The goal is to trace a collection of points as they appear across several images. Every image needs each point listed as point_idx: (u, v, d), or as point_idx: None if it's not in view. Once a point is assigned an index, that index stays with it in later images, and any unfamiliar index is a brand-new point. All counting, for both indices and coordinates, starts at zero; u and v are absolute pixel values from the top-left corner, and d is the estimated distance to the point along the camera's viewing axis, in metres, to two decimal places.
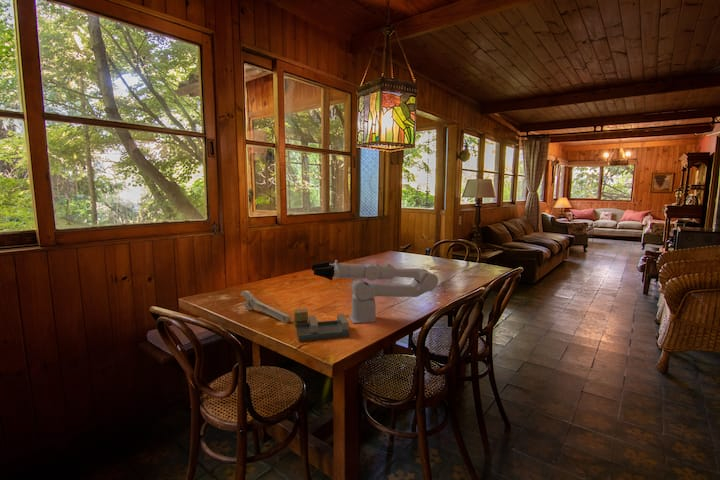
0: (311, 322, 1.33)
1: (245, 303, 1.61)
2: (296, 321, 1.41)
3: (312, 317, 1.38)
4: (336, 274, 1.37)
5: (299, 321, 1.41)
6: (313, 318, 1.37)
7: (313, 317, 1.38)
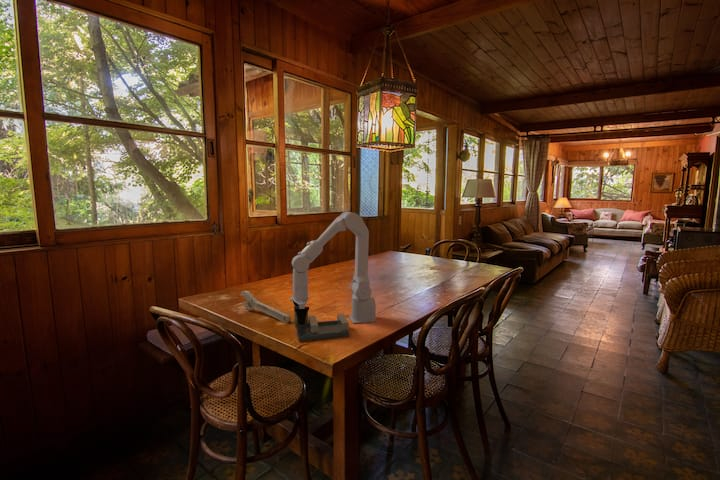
0: (311, 322, 1.33)
1: (245, 303, 1.61)
2: (296, 321, 1.41)
3: (312, 317, 1.38)
4: (301, 307, 1.35)
5: None
6: (313, 318, 1.37)
7: (313, 317, 1.38)
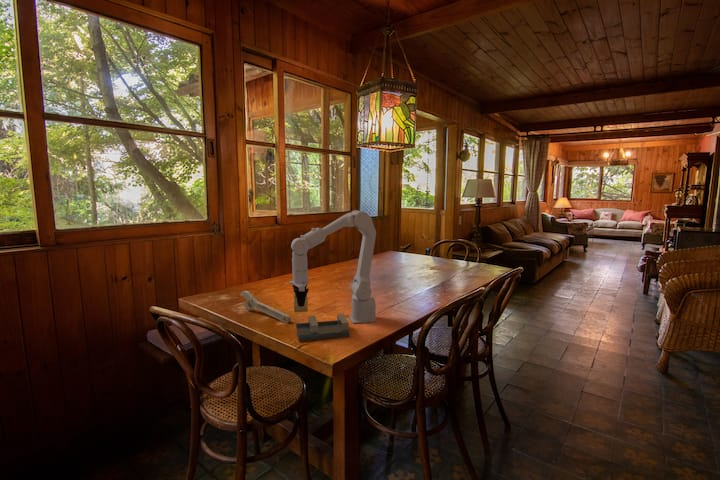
0: (311, 322, 1.33)
1: (245, 303, 1.60)
2: (296, 306, 1.40)
3: (312, 317, 1.38)
4: (301, 289, 1.34)
5: None
6: (313, 318, 1.37)
7: (313, 317, 1.38)
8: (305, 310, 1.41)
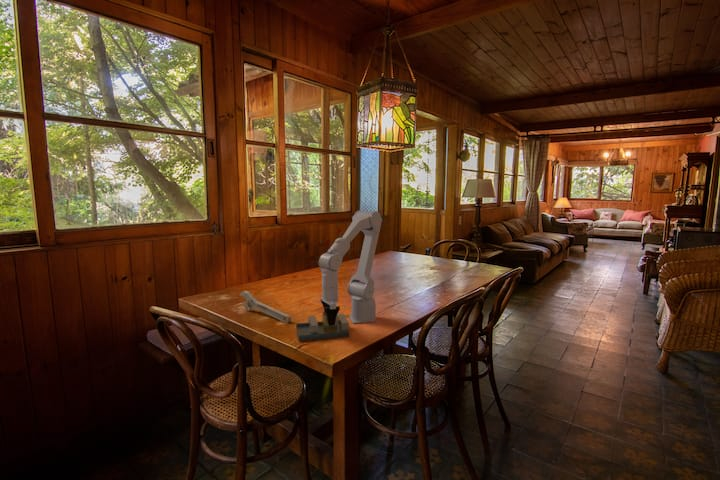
0: (311, 322, 1.33)
1: (244, 303, 1.60)
2: (325, 324, 1.34)
3: (312, 317, 1.38)
4: (332, 307, 1.28)
5: (328, 324, 1.35)
6: (313, 318, 1.37)
7: (313, 317, 1.38)
8: (335, 329, 1.35)
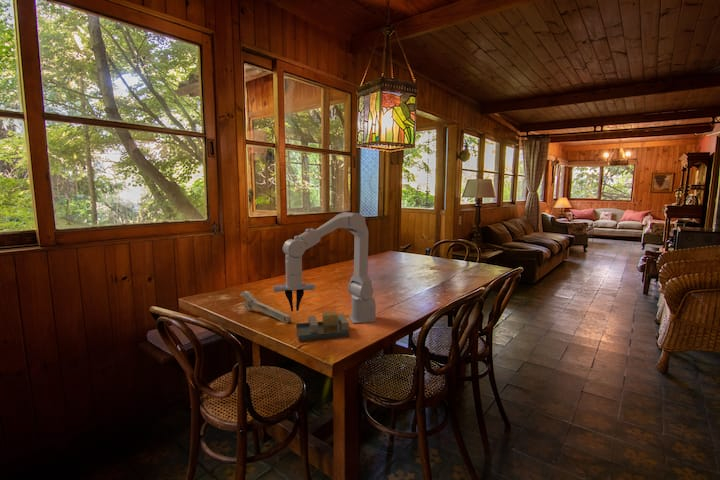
0: (311, 322, 1.33)
1: (245, 304, 1.60)
2: (325, 324, 1.34)
3: (312, 317, 1.38)
4: (273, 289, 1.30)
5: (328, 324, 1.35)
6: (313, 318, 1.37)
7: (313, 317, 1.38)
8: (335, 329, 1.35)
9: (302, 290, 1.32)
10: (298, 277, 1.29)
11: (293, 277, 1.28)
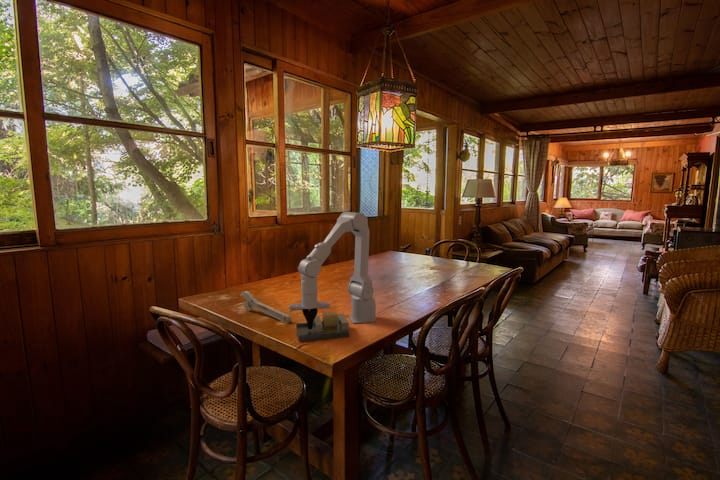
0: (315, 322, 1.33)
1: (245, 304, 1.60)
2: (325, 324, 1.34)
3: (316, 317, 1.38)
4: (289, 308, 1.32)
5: (328, 324, 1.35)
6: (317, 317, 1.38)
7: (317, 317, 1.38)
8: (335, 329, 1.35)
9: None
10: (314, 296, 1.31)
11: (309, 296, 1.30)
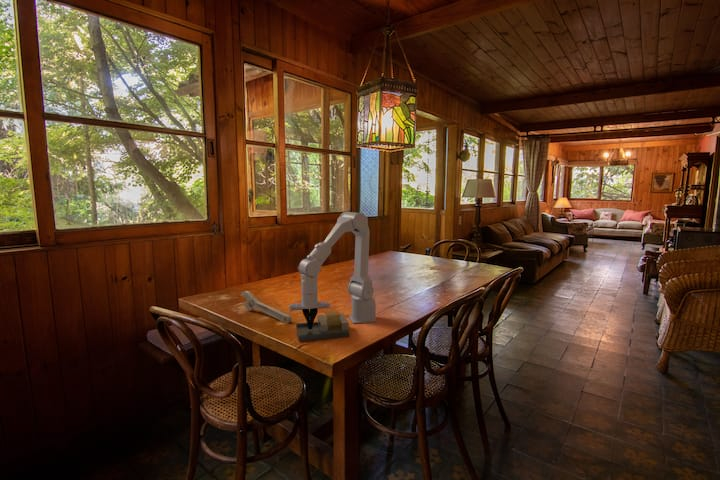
0: (321, 321, 1.34)
1: (245, 303, 1.60)
2: (328, 324, 1.35)
3: (321, 317, 1.39)
4: (289, 308, 1.32)
5: (331, 324, 1.35)
6: (322, 317, 1.38)
7: (322, 316, 1.39)
8: (338, 329, 1.36)
9: None
10: (314, 296, 1.31)
11: (309, 296, 1.30)
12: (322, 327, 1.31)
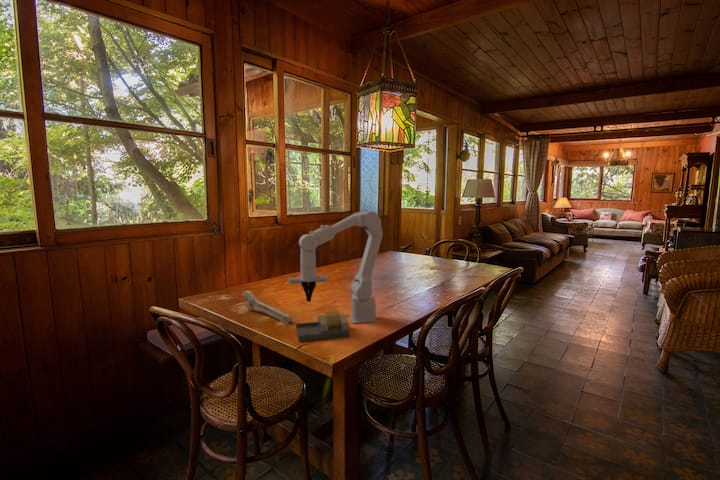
0: (321, 321, 1.34)
1: (246, 303, 1.61)
2: (328, 324, 1.35)
3: (321, 317, 1.39)
4: (289, 281, 1.39)
5: (331, 324, 1.35)
6: (322, 317, 1.38)
7: (322, 316, 1.39)
8: (338, 329, 1.36)
9: None
10: (312, 270, 1.38)
11: (308, 270, 1.37)
12: (322, 327, 1.31)
